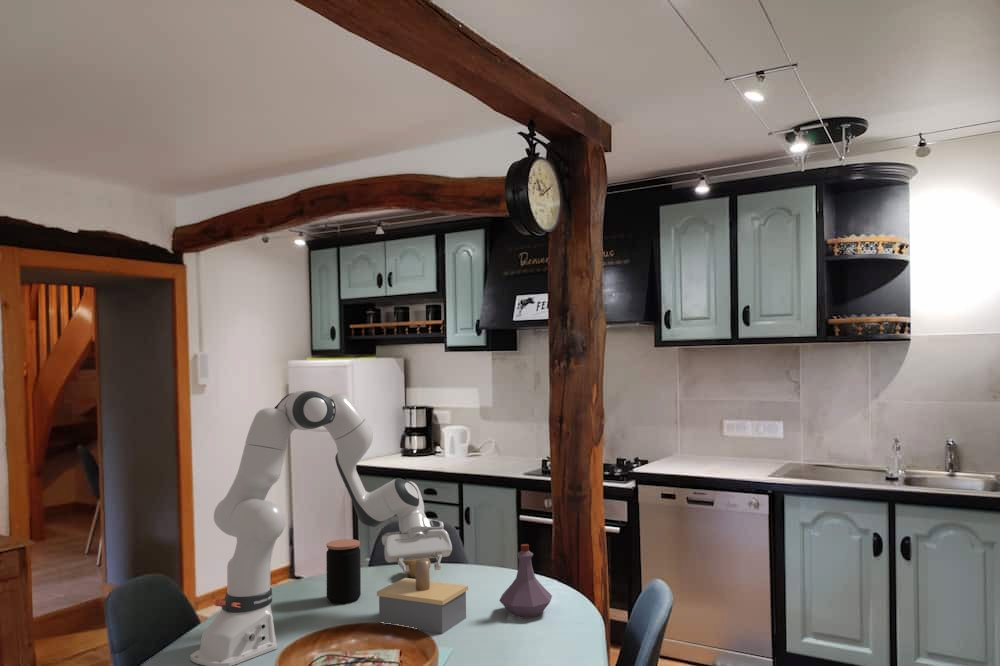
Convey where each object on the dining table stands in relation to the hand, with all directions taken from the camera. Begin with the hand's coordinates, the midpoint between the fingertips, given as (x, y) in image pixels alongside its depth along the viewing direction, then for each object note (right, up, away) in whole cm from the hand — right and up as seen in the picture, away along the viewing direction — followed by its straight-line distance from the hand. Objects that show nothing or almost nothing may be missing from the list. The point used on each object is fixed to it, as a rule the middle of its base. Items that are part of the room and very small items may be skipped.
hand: (422, 570), depth 212 cm
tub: (0, -14, -1) cm, 14 cm away
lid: (0, -8, -1) cm, 8 cm away
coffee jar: (-27, -16, +20) cm, 37 cm away
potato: (-7, -17, +44) cm, 48 cm away
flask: (+31, -14, +5) cm, 34 cm away
